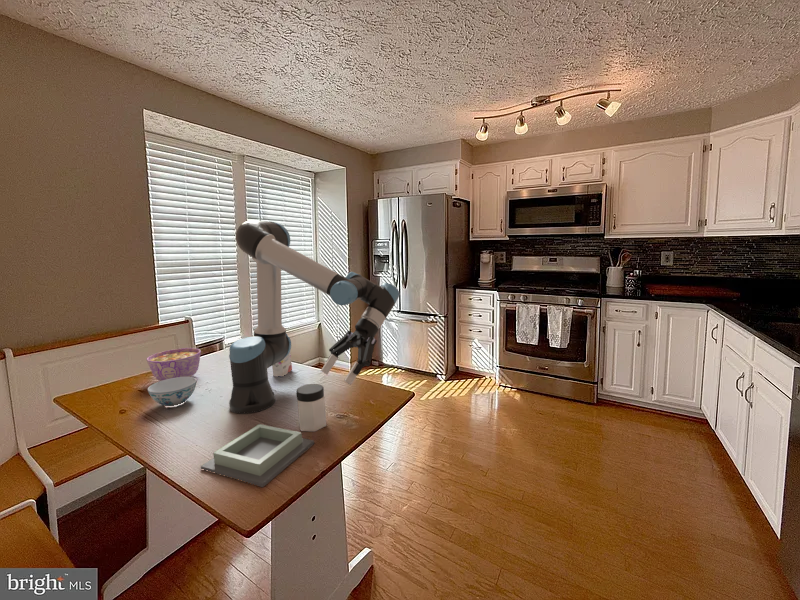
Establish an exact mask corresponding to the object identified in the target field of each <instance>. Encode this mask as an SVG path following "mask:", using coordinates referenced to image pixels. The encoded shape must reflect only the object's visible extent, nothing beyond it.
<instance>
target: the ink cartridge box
mask: <svg viewBox="0 0 800 600" xmlns="http://www.w3.org/2000/svg"><path fill="white" fill-rule="evenodd" d="M291 353H292V352H291V350H290V352H289V354H288V355H287V356H286V357H285V358H284V359H283V360H282V361H280V362H278V363H276V364H274V365H272V366H271V367H272V368H271V369H272V377H278V376H283V377H285V376H286V375H288V374H289V373H290V372H292V371H293V366H292V354H291ZM291 370H292V371H291ZM288 372H289V373H288ZM284 375H285V376H284Z"/></svg>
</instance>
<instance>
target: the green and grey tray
mask: <svg viewBox="0 0 800 600" xmlns="http://www.w3.org/2000/svg"><path fill="white" fill-rule="evenodd" d="M313 445H315V440H314V439H309V438H303V435H302V431H301V432H300V431H296V430H291V429H286V428H280V427H278V426H277V427H276V426H271V425H266V424H261V423H258V424H257V425H256V426H254V427H252V428H250V429H249V430H248V431H246V432H245V433H242V434H241V435H240V436H238V437H236V438H235V439H233V440H232V441H230V442H228V443H226V444H225V445H224V446H221V448H219V449H217V450H215V451H214V452H213V453H212V454H213V458H211V459H209V460H208V461H207V462H205V463H203V464H202V465H200V470H201V469H204V470H208V471H211V472H215V473H218V474H221V475H225V476H228V477H232V478H235V479H239V480H242V481H245V482H244V483H246V482H248V483H247V484H249V483H251V484H250V485H253V484H254V486H256V485H257V486H258V487H260V488H264V487H265V486H267V484H269V483H270V482H271V481H272V480H273V479H274V478H276V477H277V476H278V475H280V473H282V472H283V471H284V470H285V469H286V468H287V467H289V466H290V465H291V464H293V462H295V461H296V460H297V459H298V458H299V457H301V456H302V455H304V453H305V452H306V451H308V450H309V449H310V448H311V447H313ZM211 472H210V473H211ZM218 474H217V475H218ZM221 475H220V476H221ZM225 476H224V477H225ZM228 477H227V478H228ZM232 478H231V479H232ZM235 479H234V480H235ZM239 480H238V481H239ZM242 481H241V482H242Z"/></svg>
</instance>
